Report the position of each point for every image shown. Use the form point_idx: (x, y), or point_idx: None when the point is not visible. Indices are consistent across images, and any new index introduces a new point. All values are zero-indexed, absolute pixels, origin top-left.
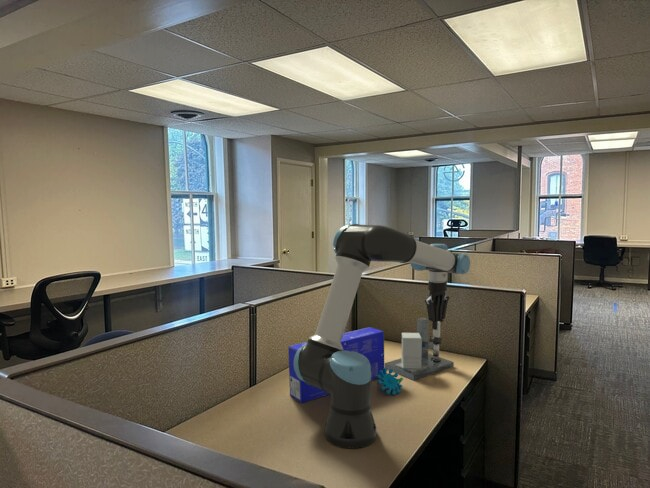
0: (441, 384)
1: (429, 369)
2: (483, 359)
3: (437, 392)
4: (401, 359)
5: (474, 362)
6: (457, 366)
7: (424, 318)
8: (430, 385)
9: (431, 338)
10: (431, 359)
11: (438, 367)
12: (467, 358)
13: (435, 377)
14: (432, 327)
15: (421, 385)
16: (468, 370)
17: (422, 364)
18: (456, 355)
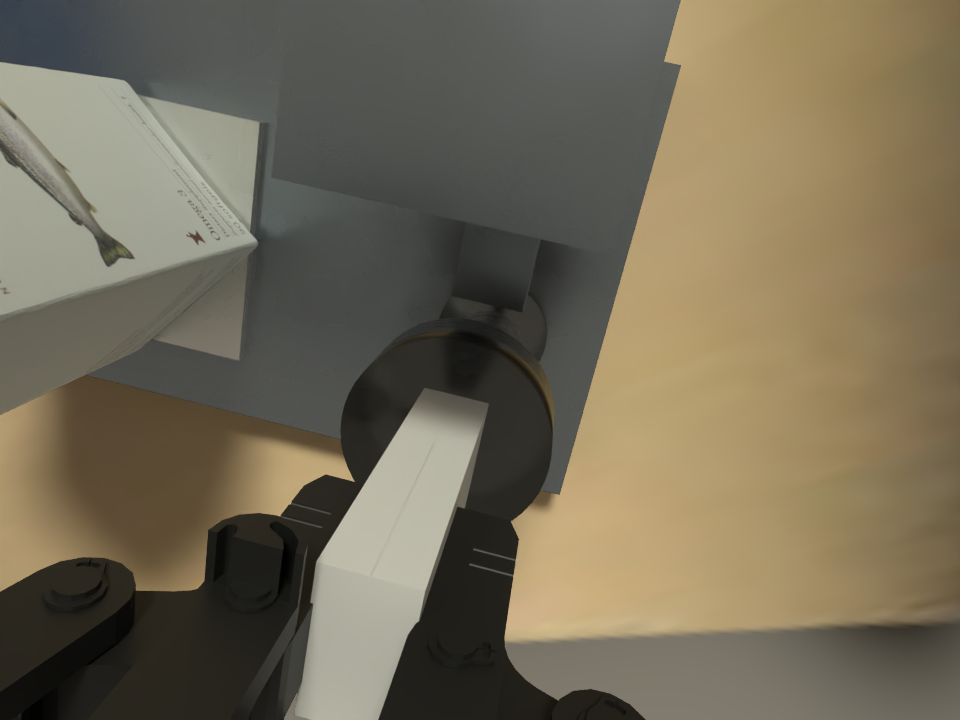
0: (154, 530)
1: (218, 397)
2: (955, 616)
3: (29, 557)
4: (102, 78)
5: (807, 576)
6: (594, 493)
7: (570, 84)
8: (77, 478)
9: (351, 393)
10: (449, 299)
11: (330, 434)
12: (892, 491)
13: (228, 445)
14: (299, 494)
15: (24, 428)
16: (564, 593)
17: (275, 283)
18: (928, 368)
